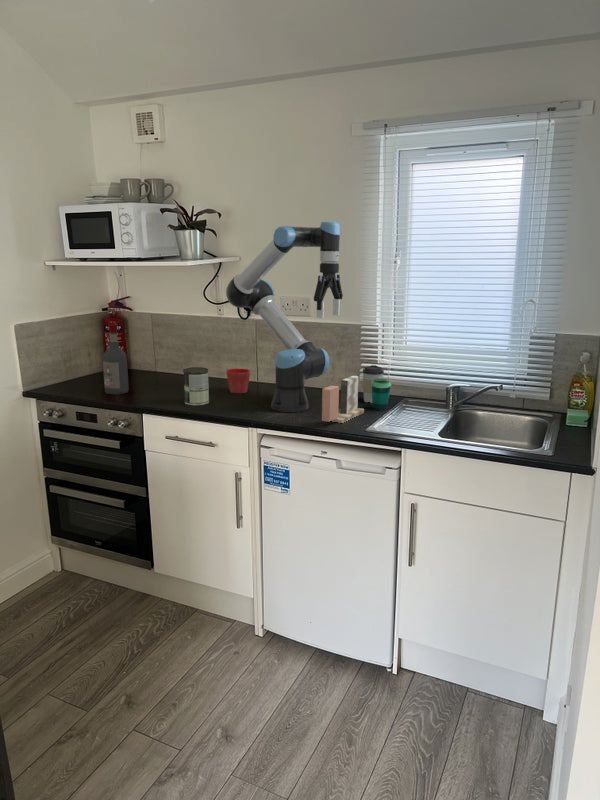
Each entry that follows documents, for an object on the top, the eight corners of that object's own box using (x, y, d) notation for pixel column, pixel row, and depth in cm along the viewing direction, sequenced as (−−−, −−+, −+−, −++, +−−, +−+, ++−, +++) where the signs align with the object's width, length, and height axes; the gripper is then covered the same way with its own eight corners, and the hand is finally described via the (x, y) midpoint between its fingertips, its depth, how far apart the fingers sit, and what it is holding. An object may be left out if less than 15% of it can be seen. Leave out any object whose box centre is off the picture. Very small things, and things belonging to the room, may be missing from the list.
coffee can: (179, 403, 256) (178, 370, 253) (194, 398, 265) (193, 366, 262) (199, 406, 252) (198, 372, 248) (214, 401, 261) (213, 368, 257)
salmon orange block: (329, 421, 225) (330, 390, 222) (321, 420, 227) (322, 388, 224) (338, 417, 231) (339, 386, 228) (330, 416, 233) (331, 385, 230)
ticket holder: (342, 423, 230) (343, 385, 226) (323, 420, 233) (324, 383, 230) (363, 412, 245) (365, 377, 242) (345, 409, 249) (347, 374, 246)
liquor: (117, 395, 269) (112, 326, 261) (101, 392, 273) (97, 325, 266) (131, 391, 276) (128, 324, 269) (116, 388, 281) (112, 323, 273)
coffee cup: (381, 404, 259) (383, 369, 255) (360, 402, 261) (361, 368, 257) (383, 399, 267) (384, 365, 264) (362, 397, 269) (363, 364, 266)
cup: (390, 406, 255) (392, 378, 252) (389, 411, 247) (390, 382, 244) (371, 405, 257) (372, 377, 254) (369, 410, 249) (370, 381, 246)
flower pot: (247, 388, 285) (246, 367, 283) (252, 393, 275) (252, 372, 273) (224, 389, 282) (224, 368, 280) (229, 395, 272) (229, 373, 269)
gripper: (322, 263, 230) (321, 320, 235) (351, 262, 251) (350, 314, 256) (305, 262, 233) (304, 319, 239) (335, 261, 254) (334, 313, 259)
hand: (328, 316), depth 247 cm, fingers open, 13 cm apart
